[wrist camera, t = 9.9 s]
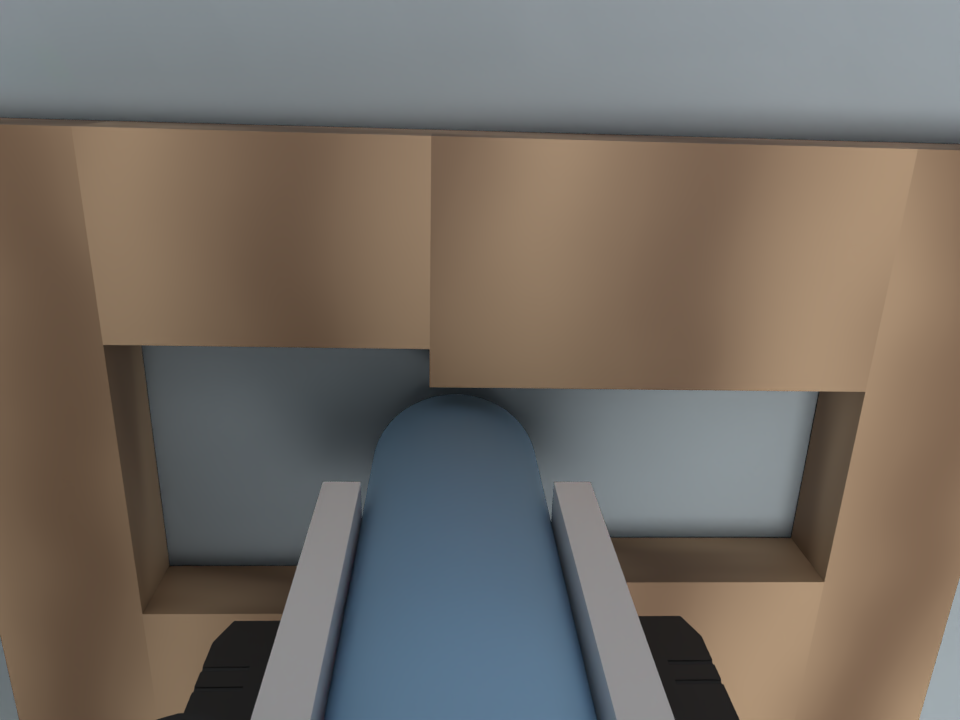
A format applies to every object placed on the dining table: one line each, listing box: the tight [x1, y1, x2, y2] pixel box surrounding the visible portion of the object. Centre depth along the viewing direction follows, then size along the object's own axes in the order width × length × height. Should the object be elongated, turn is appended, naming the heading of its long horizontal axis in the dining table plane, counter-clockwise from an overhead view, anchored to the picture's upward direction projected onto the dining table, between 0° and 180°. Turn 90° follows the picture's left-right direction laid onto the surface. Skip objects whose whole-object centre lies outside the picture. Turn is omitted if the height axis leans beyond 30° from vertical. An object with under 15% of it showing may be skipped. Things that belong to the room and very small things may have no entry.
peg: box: [324, 394, 597, 720], centre depth 12 cm, size 4×4×14 cm
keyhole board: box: [0, 118, 960, 720], centre depth 19 cm, size 24×16×2 cm, turn 88°
